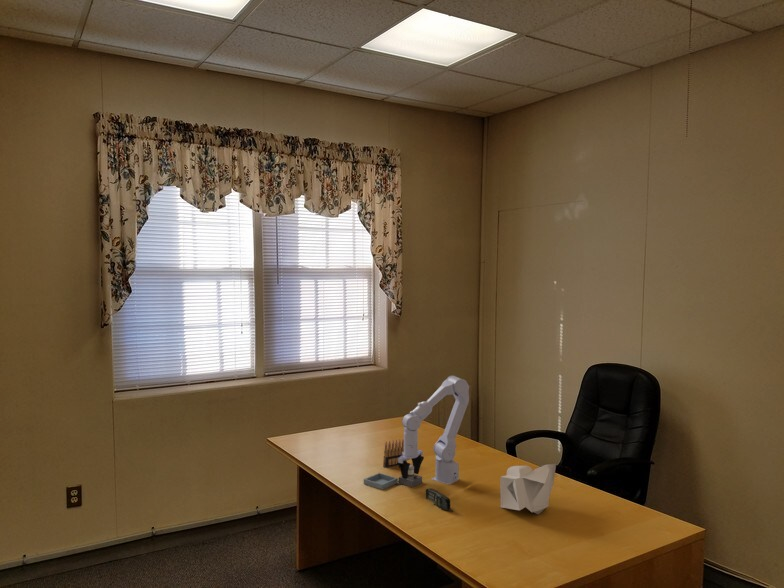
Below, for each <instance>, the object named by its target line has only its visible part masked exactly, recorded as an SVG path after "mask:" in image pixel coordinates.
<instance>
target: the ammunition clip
mask: <svg viewBox="0 0 784 588" xmlns="http://www.w3.org/2000/svg"><path fill="white" fill-rule="evenodd" d="M402 452H404V438H402V439H399V440H397V439H395V441H394V440H392V442H391V440H389V441H388V442H387V441H385V443H384V451H383V455H384V456H383V464H382V465H383V466H382V467H384V469H385V468H391V467H397V466H398V464H397V461H398V458H399V457H400V456H402Z"/></svg>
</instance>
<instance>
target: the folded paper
mask: <svg viewBox="0 0 784 588" xmlns="http://www.w3.org/2000/svg"><path fill="white" fill-rule="evenodd" d="M556 467H557V464H556V463H548V464H544V465H541V466H540V467H537V468H534V469H533V468H531V467H530V466H529V465H513V466H510V467H508V468H507V470H506V475H502V476H500V477H499V480H500V481H499V483H500V485H499V486H500V490H499V491H500V495H499V496H500V508H503V509H509V510H515V511H521V510H523V509H524V508H526V509H527V510H528V511H530V512H531V513H534V514H536V515H537V516H538V515H540V514H541V513H542V512H543V511H544V510H545V509H547V508H549V500H550V496H551V494H552V493H551V492H552V489H553V486H554V480H555V477H556V476H555V475H556V474H555V473H556Z"/></svg>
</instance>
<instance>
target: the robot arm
mask: <svg viewBox="0 0 784 588" xmlns="http://www.w3.org/2000/svg"><path fill="white" fill-rule="evenodd" d="M469 389H470V385H469V384H468V382H467V380H466V379H463V378H461V377H457V375H449V376H447V378H446V379H445V380H444V381H442V383H441V385H440V386H439V387H438V388H437V390H436V391H434V393H432V395H431V396H430V397H429V398H427V400H426V401H425V400H424V401H421V402H417V406H416V407H415V408H414V409H412V410H411V411H409V413H408V414H405V415H404V416H403V417H402V418H403V419H402V420H401V424H402V426H403V439H404V452H402V456H400V457H399V458H398V461H397V464H398V465H397V466H398V468H399V471H400V473H401V476H402V478H404V479H407V478H408V470H409V466H410V465H411V464H412V465H413V466H414V474H415V475H419V473H420V470H421V466H422V463H423V461H424V460H425V457H424V455H423V454H424V451H423V450H422V449H418V444H419V443H418V441H419V440H418V438H419V433H418V432H419V431H418V429H420V427H421V423H422V422H423V421H424V420H425V419H426V418H427V417H428V416H429V415H430V414H431V413H432V411H433V407H434V406H435V405H437V403H439V402H441V400H442V399H444V398H445V397H446V396H451V395H453V397H454V400H455V402H454V404H453V406H452V409H451V411H450V415H449V416H448V417H449V418H448V419H447V422H446V425H445V428H444V431H443V434H441V435H440V436H439V438H438V440H436V442H435V443H434V445H433V448H432V449H433V452H434V454H435V476H434V477H432V478H431V480H432V481H436V482H438V483H442V484H446V485H451V484H454V483H456V482H458V481H459V480H460V477H459V475H460V472H459V471H460V469H459V468H460V467H459V463H458V462H457V461H455V460H454V458H455V456H456V448H457V443H456V438H457V435H458V432H459V430H460V427H461V424H462V422H463V419H464V416H465V413H466V410H467V409H468V408H467V407H468V405H469V403H470V393H469V392H470V391H469ZM409 460H411V462H412V463H410V462H408V461H409Z"/></svg>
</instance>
